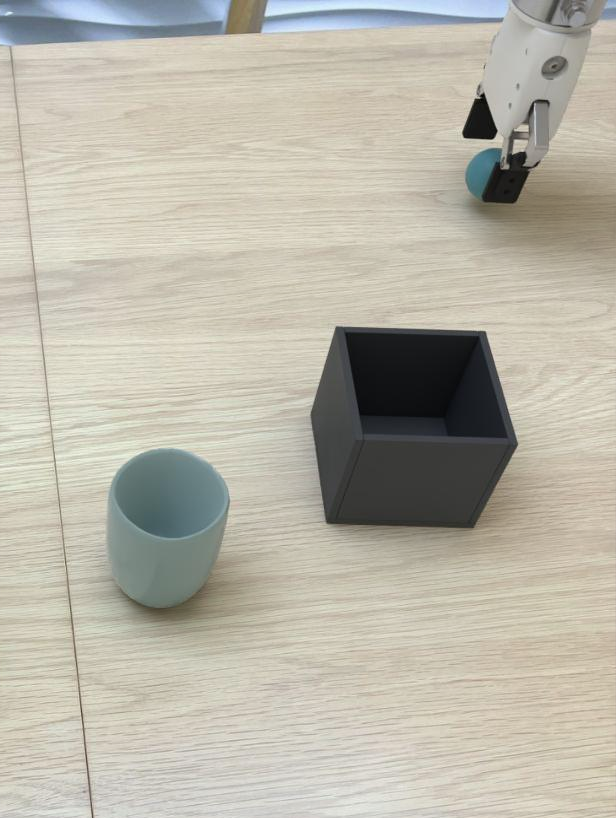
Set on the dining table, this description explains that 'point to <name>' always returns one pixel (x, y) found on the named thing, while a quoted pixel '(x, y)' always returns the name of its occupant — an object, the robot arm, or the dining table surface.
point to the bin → (410, 427)
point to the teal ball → (481, 170)
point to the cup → (165, 525)
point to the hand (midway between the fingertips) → (487, 168)
